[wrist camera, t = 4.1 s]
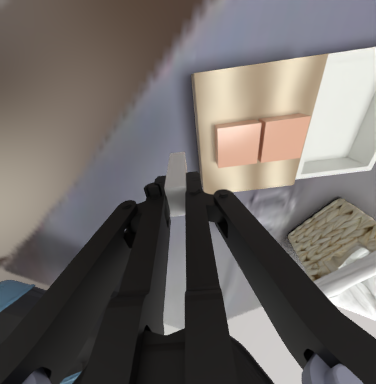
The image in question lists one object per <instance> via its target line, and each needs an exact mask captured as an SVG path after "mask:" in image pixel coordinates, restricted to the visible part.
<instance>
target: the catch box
mask: <svg viewBox="0 0 376 384" xmlns="http://www.w3.org/2000/svg"><path fill="white" fill-rule="evenodd" d="M375 161H376V47H372V48H365V49H358V50H351V51H344V52H338V53H331V54H328V58H327V62H326V65H325V69H324V73H323V77H322V80H321V84H320V88H319V92H318V95H317V99H316V103H315V107H314V110H313V114H312V118H311V122H310V125H309V129H308V133H307V137H306V140H305V144H304V148H303V152H302V155H301V159H300V163H299V167H298V170H297V174H296V178H295V179H302V178H310V177H318V176H327V175H335V174H343V173H352V172H360V171H368V170H371V169H372V167H373V165H374V163H375Z"/></svg>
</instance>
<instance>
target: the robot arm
mask: <svg viewBox="0 0 376 384" xmlns="http://www.w3.org/2000/svg"><path fill="white" fill-rule="evenodd" d="M144 191H145V194H146V197H147V198H146V201H144V202H142V203H139V204H136V202H135V201H133V200H128V201H124V202H123V203H121V204H120V205H119V206H118V207H117V208H116V209H115V210H114V212H113V213H112V214H111V215H110V216H109V217H108V219H107V220H106V221H105V222H104V223H103V225H102V226H101V227H100V228H99V229H98V231H97V232H96V233H95V234H94V235H93V236H92V238H91V239H90V240H89V241H88V242H87V244H86V245H85V246H84V247H83V248H82V250H81V251H80V252H79V253H78V254H77V255H76V257H75V258H74V259H73V260H72V261H71V263H70V264H69V265H68V266H67V267H66V269H65V270H64V271H63V272H62V273H61V274H60V276H59V277H58V278H57V279H56V280H55V282H54V283H53V284H52V285H51V286H50V288H49V289H48V290H43V289H40V288H38V287H35V285H34V284H32V285H29V284H25V283H22V282H18V281H14V280H6V281H2V282H0V384H274V383H273V381H272V380H271V379H270V378H269V377H268V375H267V374H266V373H265V372H264V370H263V369H262V368H261V367H260V365H259V364H258V363H257V362H256V360H255V359H254V358H253V357H252V356H251V354H250V353H249V352H248V351H247V350H246V348H245V347H244V346H242V344H241V343H239V342H238V341H237V340H235V339H234V338H233V337H231V336H230V335H229V329H228V324H227V318H226V312H225V307H224V301H223V296H222V291H221V288H220V285H219V279H218V274H217V268H216V262H215V256H214V250H213V245H212V239H211V233H210V227H209V222H208V221H210V222H215V225H216V227H217V228H218V230H219V232H220V233H221V235H222V237H223V239H224V240H225V242H226V244H227V246H228V247H229V249H230V251H231V253H232V254H233V256H234V258H235V260H236V261H237V263H238V265H239V266H240V268H241V270H242V272H243V273H244V275H245V277H246V279H247V280H248V282H249V284H250V286H251V287H252V289H253V291H254V293H255V294H256V296H257V298H258V299H259V301H260V303H261V305H262V306H263V308H264V310H265V311H266V313H267V315H268V317H269V319H270V320H271V322H272V324H273V326H274V327H275V329H276V331H277V332H278V334H279V336H280V337H281V339H282V341H283V342H284V344H285V345H286V347H287V349H288V350H289V352H290V353H291V354H292V356H293V357H294V358H295V360H296V361H297V362H298V364H299V365H300V366H301V368H302V369H303V372H302V384H376V339H375V338H374V337H373V336H371V335H370V334H369V333H367V332H366V331H365V330H363V329H362V328H361V327H359V326H358V325H357V324H356V323H354V322H353V321H352V320H350V319H349V318H348V317H346V316H345V315H344V314H342V313H341V312H340V311H339V310H338V309H337V308H336V306H335V305H334V304H333V303H332V302H331V301H330V300H329V299H328V298H327V297H326V295H325V294H324V293H323V292H322V291H321V290H320V289H319V288H318V287H317V285H316V284H315V283H314V282H313V281H312V280H311V279H310V278H309V277H308V276H307V274H306V273H305V272H304V271H303V270H302V269H301V268H300V267H299V266H298V264H297V263H296V262H295V261H294V260H293V259H292V258H291V257H290V256H289V255H288V253H287V252H286V251H285V250H284V249H283V248H282V247H281V246H280V245H279V243H278V242H277V241H276V240H275V239H274V238H273V237H272V236H271V235H270V234H269V232H268V231H267V230H266V229H265V228H264V227H263V226H262V225H261V224H260V222H259V221H258V220H257V219H256V218H255V217H254V216H253V215H252V214H251V213H250V211H249V210H248V209H247V208H246V207H245V206H244V205H243V204H242V203H241V201H240V200H239V199H238V198H237V197H236V196H235V195H234V194H233V193H232V192H231V191H230V190H227V189H221V190H217V191H216V192H214V194H208V193H205V192H204V191H203V189H202V184H201V179H200V174H199V173H198V172H197V171H196V172H188V173H187V165H186V158H185V152H178V153H170V157H169V163H168V169H167V175H166V176H158V177H157V178H156V179H155V182H154V183H150V184H148V185H146V186H145V187H144ZM170 215H171V217H175V216H185V219H186V292H185V328H184V329H182V330H179V331H177V332H174V333H172V334H170V335H164V325H163V311H164V299H165V287H166V274H167V262H168V250H169V237H170V225H171V220H170ZM125 229H126V231H125ZM124 231H125V232H124Z"/></svg>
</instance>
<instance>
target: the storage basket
mask: <svg viewBox="0 0 376 384" xmlns="http://www.w3.org/2000/svg"><path fill="white" fill-rule="evenodd" d="M344 200H345V199H338V200H335V201H333V202H332V203H331V204H330V205H328V206H326V207H324V208H323V209H322V210H321V211H319V212H318V213H316V214H315V215H314V216H313V217H312V218H309V219H308V220H306V221H305V222H304V223H303V224H302V225H300V226H298V227H297V228H296V229H295V230H294V231H292V232H291V233H290V234H289V235H288V239H289V240H290V243H291V244H292V247H293V248H294V251H295V252H296V254H297V255H298V257H299V260H300V261H301V262H302V265H303V266H304V267H305V270H306V273H307V275H308V276H309V278H310V279H311V280H312V281H313V282H314V283H315V284H316V285H317V287H318V288H319V289H320V290H321V291H322V292H323V293H324V294H325V295H326V297H327V298H328V299H329V300H330V301H331V302H332V303H333V304H334V305H336V306H338V307H341V308H344V309H346V310H349V311H352V312H354V313H357V314H359V315H362V316H364V317H367V318H369V319H372V320H375V321H376V221H374V220H373V218H372V217H370V216H368V215H366V214H365V213H364V212H363V211H361V210H360V209H359V208H357V207H355V206H354V205H352V204H350V203H348V202H346V201H344Z"/></svg>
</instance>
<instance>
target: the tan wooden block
mask: <svg viewBox="0 0 376 384" xmlns="http://www.w3.org/2000/svg"><path fill="white" fill-rule="evenodd" d="M328 54H329V53H328ZM328 54H322V55H315V56H308V57H301V58H294V59H288V60H281V61H274V62H267V63H260V64H254V65H247V66H240V67H233V68H226V69H220V70H213V71H206V72H199V73H194V74H192V75H191V79H192V90H193V101H194V112H195V123H196V134H197V145H198V156H199V167H200V178H201V183H202V188H203V191H204V192H205V193H208V194H214V192H216V191H217V190H221V189H227V190H230V191H231V192H238V191H247V190H255V189H263V188H272V187H280V186H288V185H294V182H295V178H296V174H297V170H298V167H299V163H300V159H301V157H300V158H296V159H288V160H280V161H272V162H264V163H260V162H259V161H258V159H257V163H256V164H248V165H240V166H232V167H224V168H218V166H217V164H216V157H215V125H217V124H224V123H231V122H239V121H246V120H254V119H255V120H257V121H259V119H261V118H268V117H276V116H283V115H291V114H298V113H302V114H305V115H309V116H311V118H312V114H313V110H314V107H315V103H316V99H317V95H318V92H319V88H320V84H321V80H322V77H323V73H324V69H325V65H326V62H327V58H328ZM310 122H311V119H310ZM309 125H310V123H309ZM308 129H309V126H308ZM307 133H308V130H307ZM306 137H307V134H306ZM305 140H306V138H305ZM304 144H305V142H304ZM303 148H304V145H303ZM302 152H303V149H302ZM301 155H302V153H301Z"/></svg>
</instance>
